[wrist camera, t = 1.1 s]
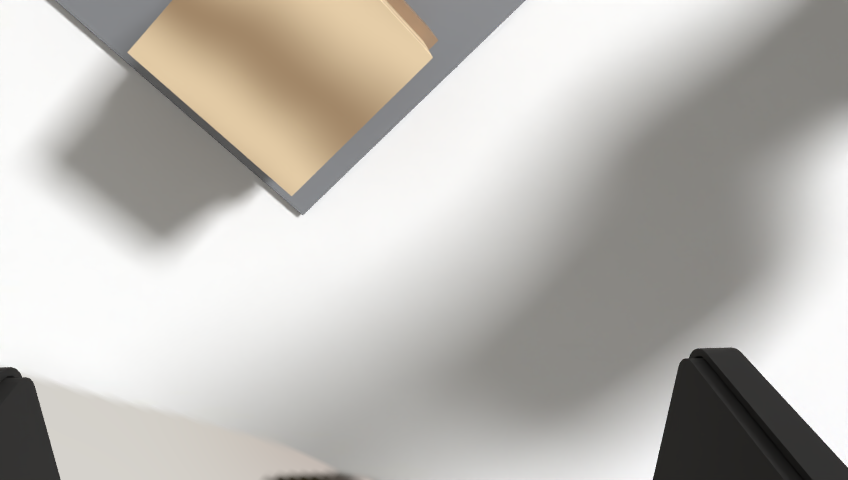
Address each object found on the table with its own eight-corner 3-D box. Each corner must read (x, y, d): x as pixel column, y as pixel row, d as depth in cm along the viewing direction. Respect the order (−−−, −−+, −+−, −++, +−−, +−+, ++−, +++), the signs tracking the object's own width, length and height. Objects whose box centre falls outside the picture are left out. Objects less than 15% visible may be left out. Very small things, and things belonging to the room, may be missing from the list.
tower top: (288, -106, 26) (272, -117, 22) (422, 40, 29) (433, 57, 25) (165, 35, 28) (127, 52, 24) (302, 159, 31) (291, 196, 27)
